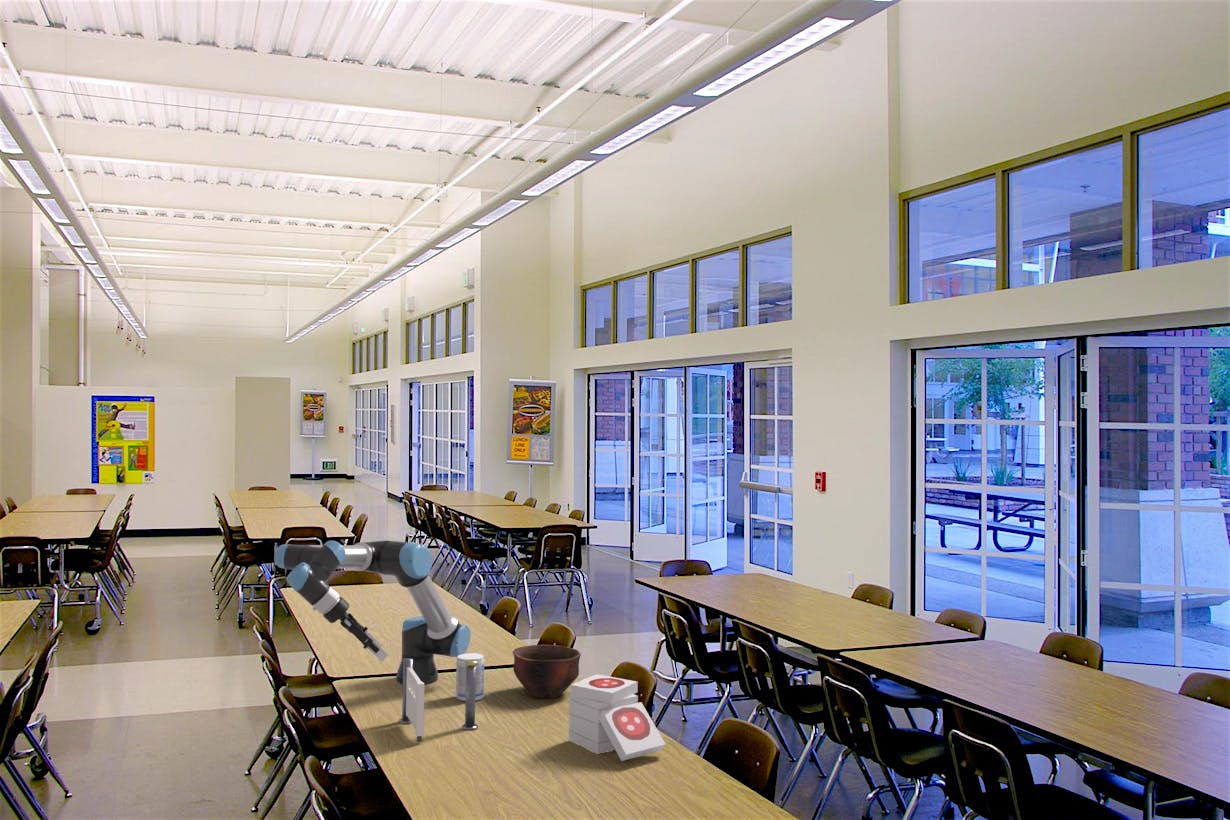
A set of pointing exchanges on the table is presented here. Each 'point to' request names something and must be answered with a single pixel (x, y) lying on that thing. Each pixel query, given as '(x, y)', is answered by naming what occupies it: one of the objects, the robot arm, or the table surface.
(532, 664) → the bowl
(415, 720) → the gate
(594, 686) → the pizza boxes
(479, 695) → the supplement tub
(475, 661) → the latch post
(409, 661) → the hinge post
